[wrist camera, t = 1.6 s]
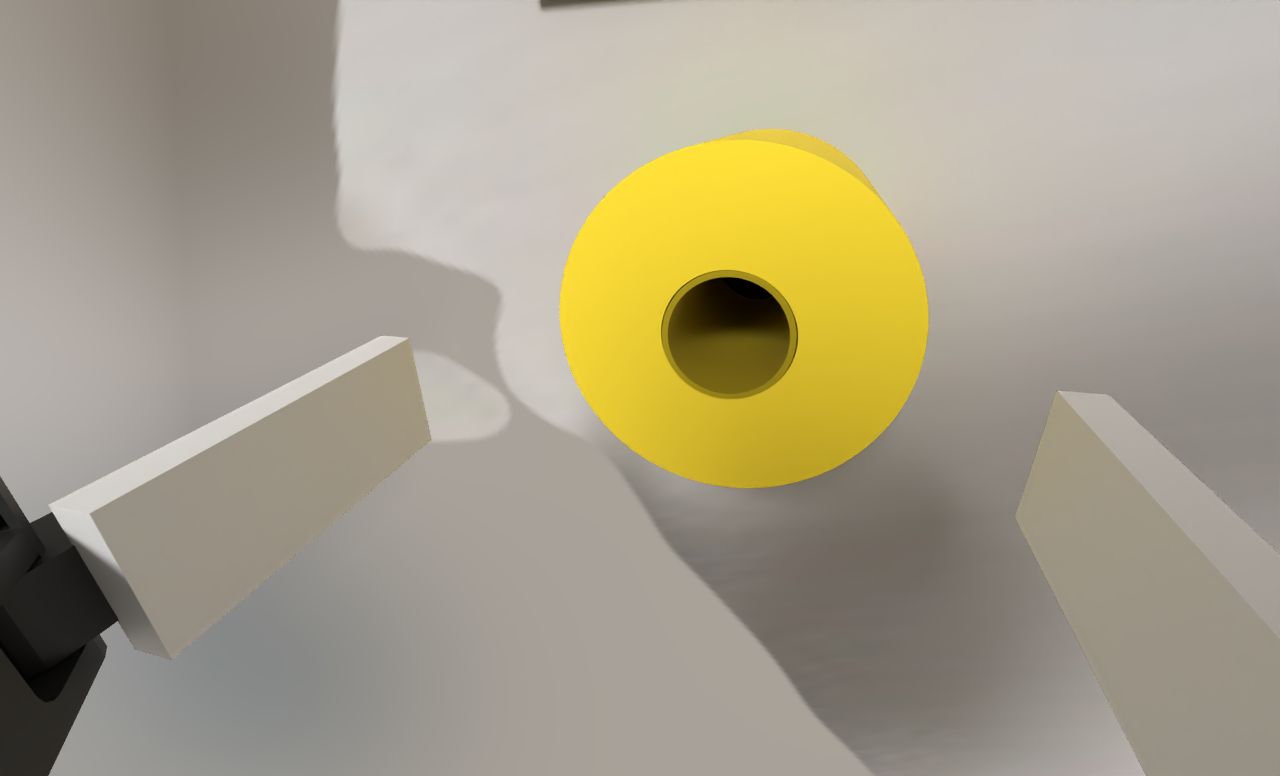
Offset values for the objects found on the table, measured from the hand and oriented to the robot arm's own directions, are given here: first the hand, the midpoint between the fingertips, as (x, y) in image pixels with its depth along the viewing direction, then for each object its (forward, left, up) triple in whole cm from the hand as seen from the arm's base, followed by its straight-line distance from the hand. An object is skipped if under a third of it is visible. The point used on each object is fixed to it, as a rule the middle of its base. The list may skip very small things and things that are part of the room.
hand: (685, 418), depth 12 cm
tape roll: (0, 0, -14) cm, 14 cm away
